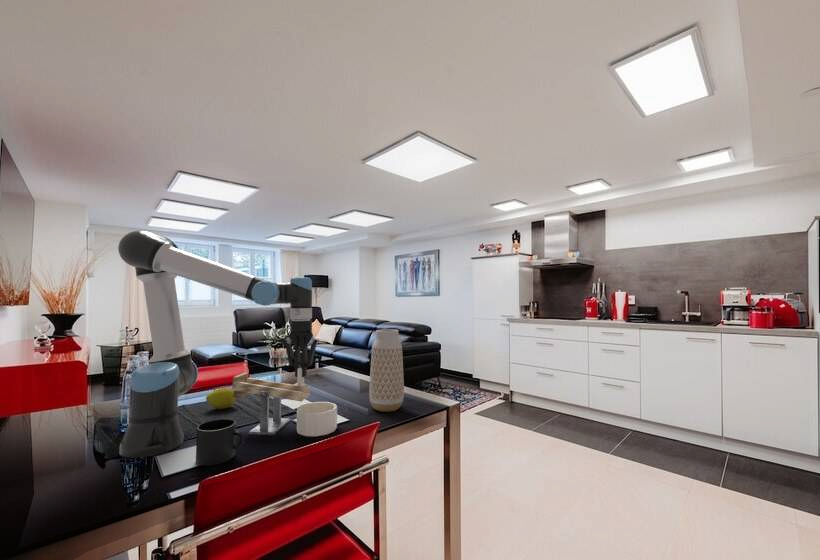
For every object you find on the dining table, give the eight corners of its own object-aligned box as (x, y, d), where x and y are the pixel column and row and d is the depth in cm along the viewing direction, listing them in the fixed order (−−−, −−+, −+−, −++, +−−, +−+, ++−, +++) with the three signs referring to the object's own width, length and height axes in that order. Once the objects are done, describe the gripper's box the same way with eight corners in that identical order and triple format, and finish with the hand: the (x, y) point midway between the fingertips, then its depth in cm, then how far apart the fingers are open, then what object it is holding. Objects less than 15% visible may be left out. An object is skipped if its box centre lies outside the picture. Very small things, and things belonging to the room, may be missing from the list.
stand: (249, 434, 113) (250, 392, 114) (268, 420, 126) (269, 382, 127) (273, 435, 113) (274, 393, 113) (290, 420, 126) (290, 383, 126)
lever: (230, 397, 118) (233, 376, 118) (253, 385, 132) (256, 367, 133) (300, 408, 116) (303, 388, 116) (315, 395, 130) (318, 377, 131)
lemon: (239, 404, 144) (239, 384, 144) (234, 410, 136) (235, 389, 137) (209, 406, 141) (209, 386, 141) (203, 413, 134) (203, 391, 134)
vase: (410, 406, 143) (410, 329, 144) (390, 416, 131) (391, 332, 133) (382, 400, 150) (383, 328, 152) (361, 409, 139) (362, 330, 140)
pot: (290, 435, 113) (291, 413, 113) (305, 421, 125) (305, 401, 125) (329, 436, 112) (330, 414, 112) (340, 422, 124) (340, 402, 124)
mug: (236, 465, 93) (237, 430, 93) (188, 467, 92) (189, 431, 92) (249, 449, 102) (250, 417, 103) (206, 451, 101) (207, 419, 101)
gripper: (279, 320, 125) (278, 388, 124) (315, 320, 124) (314, 389, 123) (288, 319, 132) (287, 383, 131) (322, 319, 131) (321, 383, 130)
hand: (300, 385), depth 127 cm, fingers closed
